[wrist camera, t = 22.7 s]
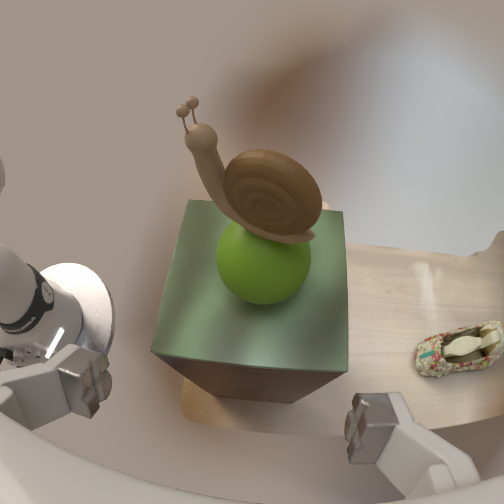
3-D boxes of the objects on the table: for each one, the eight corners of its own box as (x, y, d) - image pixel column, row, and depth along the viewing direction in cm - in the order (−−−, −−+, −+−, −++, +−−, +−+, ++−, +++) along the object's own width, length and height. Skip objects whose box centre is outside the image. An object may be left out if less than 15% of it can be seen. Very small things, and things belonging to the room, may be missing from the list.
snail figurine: (231, 227, 22) (216, 72, 12) (315, 260, 21) (359, 106, 11) (192, 290, 20) (136, 140, 10) (284, 331, 18) (321, 196, 8)
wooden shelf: (212, 395, 43) (150, 351, 18) (223, 323, 49) (188, 199, 24) (292, 403, 42) (348, 371, 17) (297, 330, 49) (342, 211, 23)
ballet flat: (508, 357, 43) (532, 345, 36) (416, 396, 42) (440, 389, 35) (496, 316, 48) (519, 300, 41) (405, 344, 47) (426, 330, 40)
